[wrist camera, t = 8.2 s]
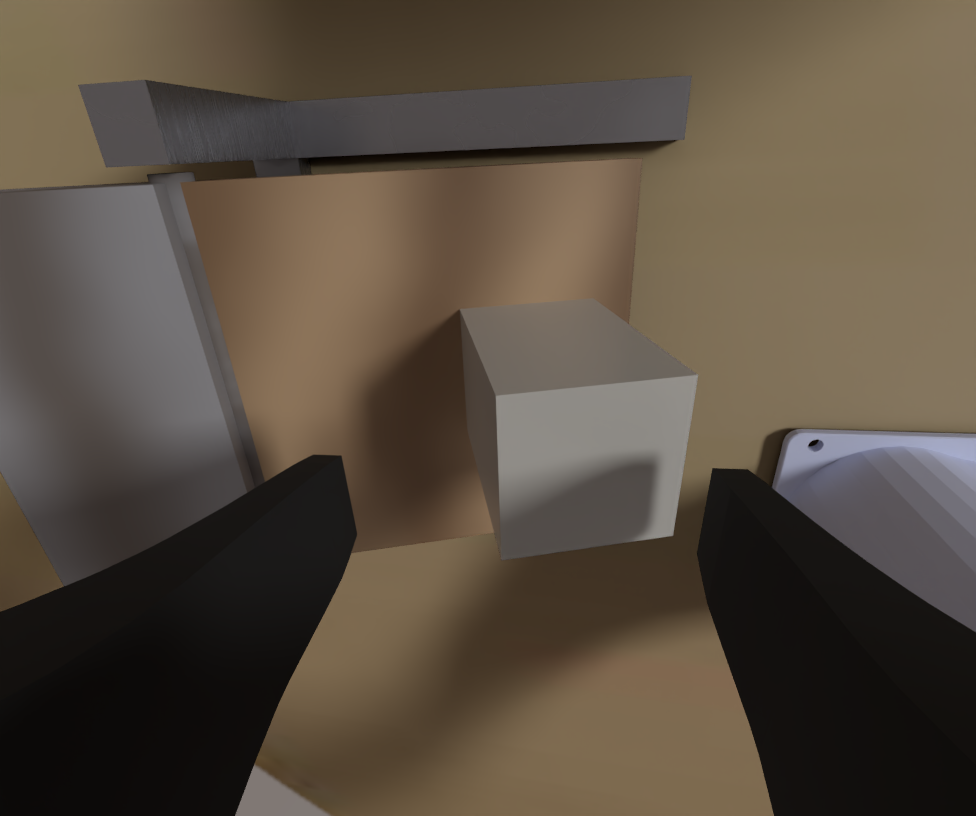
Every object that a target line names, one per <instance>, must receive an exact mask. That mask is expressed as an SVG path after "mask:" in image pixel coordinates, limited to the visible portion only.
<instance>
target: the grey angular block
mask: <svg viewBox="0 0 976 816" xmlns="http://www.w3.org/2000/svg"><path fill="white" fill-rule="evenodd" d="M691 77H692V76H678V77H663V78H647V79H632V80H616V81H600V82H585V83H569V84H554V85H538V86H523V87H507V88H492V89H476V90H461V91H445V92H430V93H414V94H399V95H383V96H368V97H352V98H337V99H321V100H305V101H290V102H286V101H280V100H273V99H267V98H260V97H253V96H247V95H240V94H234V93H227V92H221V91H214V90H208V89H201V88H194V87H188V86H181V85H175V84H168V83H162V82H155V81H149V80H138V81H124V82H111V83H97V84H84V85H78V86H79V89H80V92H81V95H82V98H83V101H84V103H85V106H86V109H87V112H88V115H89V118H90V121H91V124H92V127H93V130H94V133H95V136H96V139H97V142H98V145H99V148H100V151H101V154H102V157H103V159H104V162H105V165H106V167H122V166H143V165H164V164H185V163H205V162H225V161H246V160H253V163H254V167H255V172H256V176H257V177H274V176H293V175H312V174H311V168H310V162H309V157H328V156H349V155H370V154H391V153H412V152H433V151H454V150H475V149H496V148H517V147H538V146H559V145H580V144H601V143H622V142H643V141H664V140H684V139H685V130H686V121H687V112H688V104H689V95H690V86H691Z"/></svg>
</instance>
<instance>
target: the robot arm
mask: <svg viewBox="0 0 976 816" xmlns="http://www.w3.org/2000/svg"><path fill="white" fill-rule="evenodd" d="M817 439H818V440H819V441H818V443H817V444H816V445H814V446H808V445H809V443H810V442H811V441H813V440H817ZM356 537H357V530H356V525H355V520H354V515H353V510H352V505H351V500H350V495H349V490H348V485H347V480H346V475H345V470H344V465H343V460H342V455H314V454H313V455H311V456H309V457H307V458H305V459H303V460H301V461H300V462H298V463H296V464H294V465H292V466H291V467H289V468H287V469H286V470H284V471H282V472H281V473H279V474H277V475H276V476H274V477H272V478H271V479H269V480H267V481H266V482H264V483H262V484H261V485H259V486H257V487H256V488H254V489H252V490H251V491H249V492H248V493H246V494H244V495H243V496H241V497H239V498H238V499H236V500H234V501H233V502H231V503H229V504H228V505H226V506H224V507H223V508H221V509H219V510H217V511H216V512H214V513H212V514H210V515H208V516H207V517H205V518H203V519H201V520H199V521H198V522H196V523H194V524H192V525H191V526H189V527H187V528H185V529H183V530H182V531H180V532H178V533H176V534H174V535H173V536H171V537H169V538H167V539H165V540H163V541H161V542H160V543H158V544H156V545H154V546H152V547H150V548H148V549H146V550H144V551H142V552H140V553H138V554H136V555H134V556H131V557H129V558H127V559H125V560H123V561H121V562H119V563H117V564H115V565H112V566H110V567H108V568H106V569H104V570H102V571H100V572H97V573H95V574H93V575H91V576H88V577H86V578H83V579H81V580H79V581H76V582H74V583H71V584H69V585H66V586H64V587H62V588H59V589H57V590H54V591H52V592H49V593H47V594H44V595H42V596H40V597H37V598H35V599H32V600H30V601H27V602H25V603H23V604H20V605H18V606H15V607H12V608H10V609H7V610H4V611H2V612H0V816H235V814H236V811H237V809H238V806H239V803H240V801H241V798H242V795H243V793H244V790H245V787H246V785H247V782H248V779H249V776H250V774H251V771H252V769H253V766H254V763H255V761H256V758H257V756H258V753H259V751H260V748H261V746H262V743H263V741H264V738H265V736H266V733H267V731H268V728H269V726H270V723H271V721H272V718H273V716H274V713H275V711H276V708H277V706H278V704H279V702H280V700H281V697H282V695H283V693H284V691H285V689H286V687H287V685H288V683H289V680H290V678H291V677H292V675H293V673H294V671H295V669H296V667H297V665H298V663H299V661H300V659H301V657H302V655H303V653H304V652H305V650H306V648H307V646H308V644H309V642H310V640H311V638H312V636H313V634H314V632H315V630H316V628H317V626H318V625H319V623H320V621H321V619H322V617H323V615H324V613H325V611H326V609H327V607H328V605H329V603H330V601H331V599H332V597H333V595H334V593H335V591H336V589H337V587H338V585H339V583H340V581H341V579H342V577H343V574H344V571H345V569H346V566H347V563H348V561H349V558H350V555H351V552H352V549H353V546H354V543H355V540H356ZM697 556H698V561H699V566H700V571H701V576H702V581H703V586H704V590H705V595H706V599H707V604H708V607H709V610H710V613H711V616H712V619H713V621H714V624H715V627H716V630H717V633H718V636H719V639H720V642H721V645H722V648H723V650H724V653H725V656H726V659H727V662H728V665H729V667H730V670H731V673H732V676H733V679H734V682H735V684H736V687H737V690H738V693H739V696H740V699H741V702H742V704H743V707H744V710H745V713H746V716H747V719H748V721H749V724H750V727H751V731H752V734H753V737H754V740H755V744H756V747H757V750H758V753H759V757H760V761H761V765H762V769H763V773H764V777H765V781H766V785H767V789H768V793H769V797H770V801H771V805H772V809H773V813H774V816H976V434H962V433H927V432H891V431H855V430H819V429H797V430H793V431H791V432H789V433H788V434H787V435H786V436H785V438H784V440H783V444H782V449H781V453H780V457H779V461H778V465H777V469H776V473H775V477H774V481H773V485H772V488H771V487H770V486H769V485H768V484H766V483H765V482H764V481H763V480H761V479H760V478H759V477H757V476H756V475H755V474H753V473H752V472H750V471H749V470H745V469H717V468H713V469H712V474H711V480H710V485H709V491H708V496H707V502H706V507H705V513H704V518H703V524H702V529H701V535H700V540H699V545H698V551H697Z"/></svg>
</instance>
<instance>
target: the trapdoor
mask: <svg viewBox="0 0 976 816" xmlns="http://www.w3.org/2000/svg"><path fill="white" fill-rule="evenodd" d="M641 170H642V158H621V159H602V160H583V161H563V162H544V163H525V164H505V165H486V166H467V167H448V168H428V169H409V170H390V171H370V172H351V173H332V174H313V175H293V176H274V177H255V178H235V179H216V180H197V181H195V177H194V173H193V172H181V173H162V174H148V175H147V176H148V180H149V182H141V183H122V184H102V185H83V186H64V187H44V188H25V189H5V190H0V472H1V474H2V475H3V477H4V479H5V481H6V483H7V484H8V486H9V488H10V490H11V492H12V493H13V495H14V497H15V499H16V501H17V502H18V504H19V506H20V508H21V510H22V511H23V513H24V515H25V517H26V519H27V520H28V522H29V524H30V526H31V528H32V529H33V531H34V533H35V535H36V537H37V538H38V540H39V542H40V544H41V546H42V547H43V549H44V551H45V553H46V555H47V556H48V558H49V560H50V562H51V564H52V565H53V567H54V569H55V571H56V573H57V574H58V576H59V578H60V580H61V582H62V583H63V585H64V586H66V585H69V584H71V583H74V582H76V581H79V580H81V579H83V578H86V577H88V576H91V575H93V574H95V573H97V572H100V571H102V570H104V569H106V568H108V567H110V566H112V565H115V564H117V563H119V562H121V561H123V560H125V559H127V558H129V557H131V556H134V555H136V554H138V553H140V552H142V551H144V550H146V549H148V548H150V547H152V546H154V545H156V544H158V543H160V542H161V541H163V540H165V539H167V538H169V537H171V536H173V535H174V534H176V533H178V532H180V531H182V530H183V529H185V528H187V527H189V526H191V525H192V524H194V523H196V522H198V521H199V520H201V519H203V518H205V517H207V516H208V515H210V514H212V513H214V512H216V511H217V510H219V509H221V508H223V507H224V506H226V505H228V504H229V503H231V502H233V501H234V500H236V499H238V498H239V497H241V496H243V495H244V494H246V493H248V492H249V491H251V490H252V489H254V488H256V487H257V486H259V485H261V484H262V483H264V482H266V481H267V480H269V479H271V478H272V477H274V476H276V475H277V474H279V473H281V472H282V471H284V470H286V469H287V468H289V467H291V466H292V465H294V464H296V463H298V462H300V461H301V460H303V459H305V458H307V457H309V456H311V455H313V454H314V455H342V460H343V465H344V470H345V475H346V480H347V485H348V490H349V495H350V500H351V505H352V510H353V515H354V520H355V525H356V530H357V537H356V540H355V543H354V546H353V549H352V552H351V553H355V552H362V551H369V550H376V549H383V548H390V547H397V546H404V545H411V544H418V543H425V542H432V541H440V540H447V539H454V538H461V537H468V536H475V535H482V534H489V533H494V530H493V526H492V523H491V519H490V515H489V511H488V507H487V504H486V500H485V496H484V492H483V488H482V484H481V481H480V477H479V473H478V469H477V465H476V461H475V458H474V454H473V450H472V446H471V442H470V439H469V435H468V431H467V416H466V400H465V384H464V369H463V353H462V337H461V321H460V309H467V308H479V307H491V306H504V305H516V304H528V303H541V302H553V301H565V300H578V299H590V298H594V299H595V300H596V301H598V302H599V303H601V304H602V305H603V306H605V307H606V308H607V309H609V310H610V311H611V312H613V313H614V314H616V315H617V316H618V317H620V318H621V319H622V320H624V321H625V322H627V323H628V324H629V316H630V304H631V292H632V279H633V267H634V255H635V243H636V231H637V219H638V206H639V194H640V182H641Z"/></svg>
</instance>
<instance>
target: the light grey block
mask: <svg viewBox="0 0 976 816" xmlns="http://www.w3.org/2000/svg"><path fill="white" fill-rule="evenodd" d="M460 321H461V337H462V353H463V369H464V384H465V400H466V416H467V431H468V435H469V439H470V442H471V446H472V450H473V454H474V458H475V461H476V465H477V469H478V473H479V477H480V481H481V484H482V488H483V492H484V496H485V500H486V504H487V507H488V511H489V515H490V519H491V523H492V526H493V530H494V534H495V538H496V542H497V546H498V549H499V553H500V557H501V561H502V560H509V559H516V558H522V557H529V556H536V555H543V554H550V553H557V552H564V551H571V550H578V549H585V548H592V547H599V546H606V545H613V544H620V543H626V542H633V541H640V540H647V539H654V538H661V537H668V536H673V532H674V526H675V520H676V513H677V507H678V500H679V494H680V488H681V481H682V475H683V468H684V462H685V456H686V449H687V443H688V437H689V430H690V424H691V417H692V411H693V405H694V398H695V392H696V386H697V379H698V374H696V373H695V372H693V371H692V370H691V369H689V368H688V367H687V366H685V365H684V364H683V363H681V362H680V361H678V360H677V359H676V358H674V357H673V356H672V355H670V354H669V353H668V352H666V351H665V350H663V349H662V348H661V347H659V346H658V345H657V344H655V343H654V342H652V341H651V340H650V339H648V338H647V337H646V336H644V335H643V334H642V333H640V332H639V331H637V330H636V329H635V328H633V327H632V326H631V325H629V324H628V323H627V322H625V321H624V320H622V319H621V318H620V317H618V316H617V315H616V314H614V313H613V312H611V311H610V310H609V309H607V308H606V307H605V306H603V305H602V304H601V303H599V302H598V301H596V300H595V299H594V298H590V299H578V300H565V301H553V302H541V303H528V304H516V305H504V306H491V307H479V308H467V309H460Z"/></svg>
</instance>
